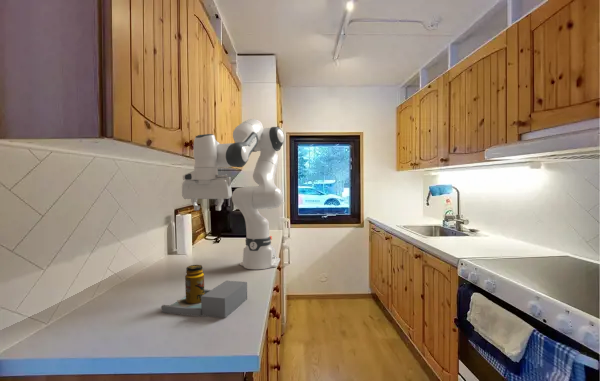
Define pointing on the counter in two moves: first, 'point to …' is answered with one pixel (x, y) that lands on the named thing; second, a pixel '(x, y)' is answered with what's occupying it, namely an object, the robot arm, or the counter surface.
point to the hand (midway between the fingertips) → (207, 210)
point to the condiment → (193, 286)
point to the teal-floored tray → (214, 301)
